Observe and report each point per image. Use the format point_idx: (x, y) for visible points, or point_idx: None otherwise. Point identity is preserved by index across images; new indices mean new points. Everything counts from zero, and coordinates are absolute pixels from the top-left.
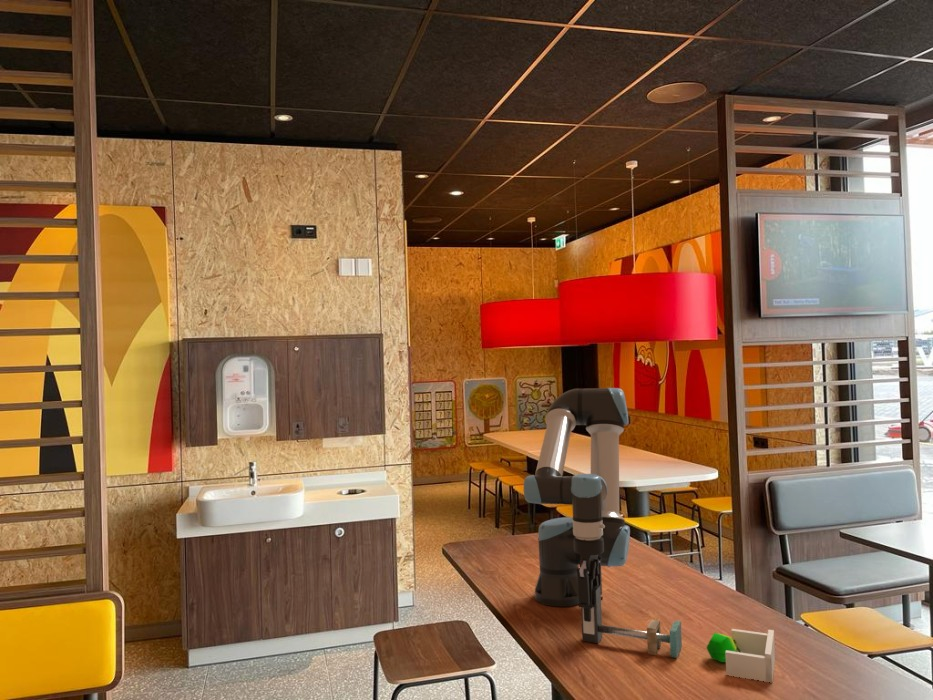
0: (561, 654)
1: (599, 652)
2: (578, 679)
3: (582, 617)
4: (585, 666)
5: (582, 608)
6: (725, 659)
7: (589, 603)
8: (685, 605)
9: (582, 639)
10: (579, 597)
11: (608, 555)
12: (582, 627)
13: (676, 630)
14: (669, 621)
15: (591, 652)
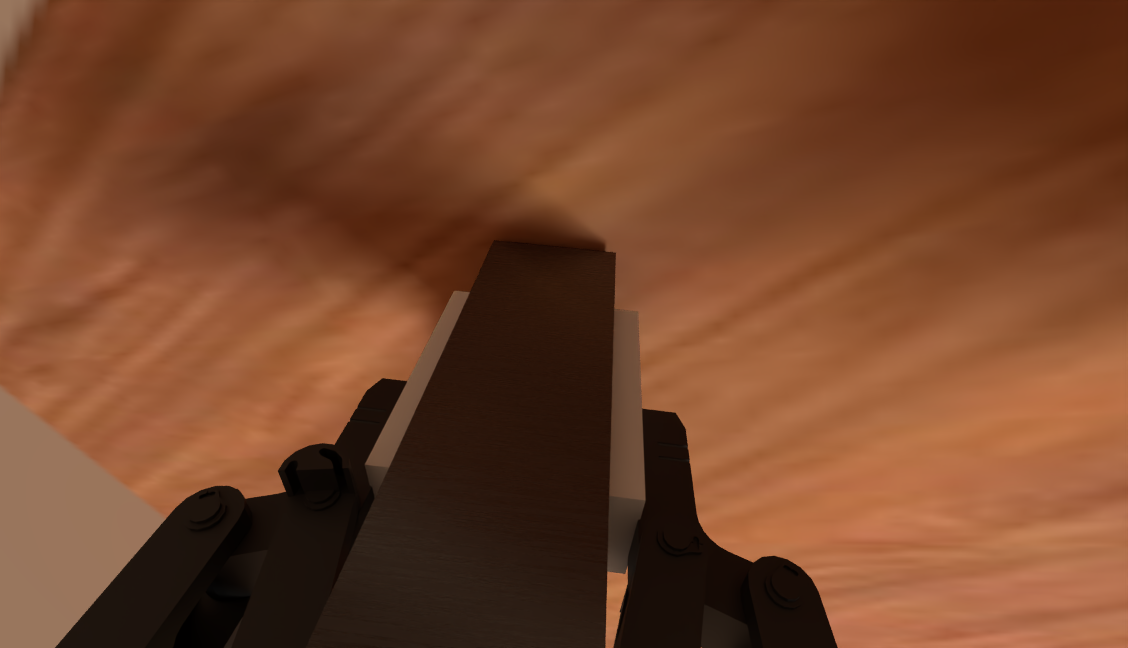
0: (215, 135)
1: (392, 351)
2: (23, 303)
3: (442, 359)
4: (179, 311)
5: (414, 431)
6: None
7: (236, 609)
8: None
9: (493, 245)
10: (83, 628)
11: None
12: (469, 298)
13: None
14: (917, 584)
15: (367, 313)
